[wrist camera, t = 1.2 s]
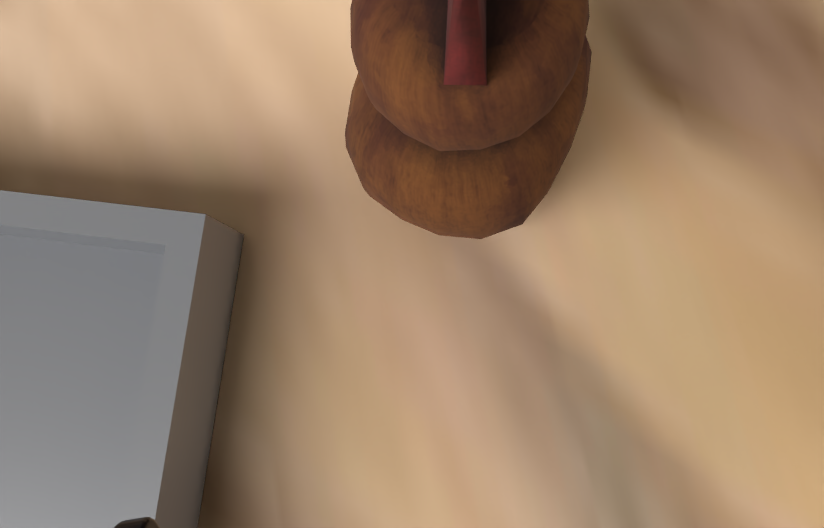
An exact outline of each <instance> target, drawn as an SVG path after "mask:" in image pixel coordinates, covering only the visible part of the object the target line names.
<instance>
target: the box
mask: <svg viewBox="0 0 824 528" xmlns="http://www.w3.org/2000/svg"><path fill="white" fill-rule="evenodd" d="M243 237H244V235H243V234H241V233H239V232H238V231H236V230H234V229H232V228H230V227H228V226H227V225H225V224H223V223H221V222H219V221H217V220H216V219H214V218H212V217H210V216H208V215H206V214H200V213H192V212H183V211H175V210H166V209H157V208H149V207H140V206H132V205H123V204H114V203H106V202H97V201H89V200H80V199H71V198H63V197H54V196H46V195H37V194H28V193H20V192H11V191H3V190H0V528H114V527H115V526H116V525H117V524H118V523H120V522H121V521H124V520H129V519H135V518H142V517H150V518H152V519H154V520H155V521H156V522H157V524H158V525H159V527H160V528H197V527H198V520H199V514H200V508H201V501H202V495H203V489H204V483H205V476H206V470H207V464H208V457H209V451H210V445H211V439H212V432H213V426H214V420H215V413H216V407H217V401H218V395H219V388H220V382H221V376H222V369H223V363H224V357H225V351H226V344H227V338H228V332H229V325H230V319H231V313H232V307H233V300H234V294H235V288H236V281H237V275H238V269H239V263H240V256H241V250H242V244H243Z"/></svg>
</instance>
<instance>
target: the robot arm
mask: <svg viewBox="0 0 824 528" xmlns="http://www.w3.org/2000/svg"><path fill="white" fill-rule="evenodd" d="M114 528H160V527H159V525H158V524H157V522H156V521H155V520H154V519H152V518H150V517H142V518H135V519H129V520H124V521H121V522H120V523H118V524H117V525H116V526H115V527H114Z"/></svg>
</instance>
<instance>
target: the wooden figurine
mask: <svg viewBox="0 0 824 528" xmlns="http://www.w3.org/2000/svg"><path fill="white" fill-rule="evenodd" d="M588 21H589V4H588V0H352V4H351V48H352V53H353V58H354V62H355V65H356V67H357V70H358V75H357V78H356V81H355V84H354V87H353V90H352V94H351V100H350V106H349V112H348V119H347V125H346V131H345V139H346V148H347V151H348V153H349V155H350V158H351V160H352V162H353V165H354V167H355V169H356V172H357V174H358V176H359V179H360V181H361V183H362V186H363V188H364V189H365V190H366V192H367V193H368V194H369V196H370V197H372V198H373V199H374V200H376V201H377V202H379V203H380V204H381V205H383V206H384V207H386V208H387V209H388V210H390V211H391V212H392V213H394V214H395V215H397V216H398V217H399V218H401V219H402V220H404V221H407V222H409V223H412V224H414V225H416V226H419V227H421V228H423V229H426V230H428V231H431V232H433V233H435V234H438V235H443V236H454V237H465V238H476V239H482V238H485V237H488V236H491V235H493V234H496V233H499V232H502V231H505V230H507V229H510V228H513V227H516V226H518V225H521V224H523V222H524V221H525V220H526V219H527V217H528V216H529V215H530V214H531V212H532V211H533V210H534V209H535V208H536V206H537V205H538V204H539V203H540V201H541V200H542V199H543V198H544V196H545V195H546V194H547V193H548V191H549V189H550V187H551V185H552V183H553V181H554V179H555V177H556V175H557V173H558V171H559V169H560V167H561V165H562V163H563V161H564V159H565V157H566V155H567V153H568V152H569V150H570V148H571V145H572V142H573V139H574V136H575V133H576V130H577V128H578V125H579V122H580V119H581V116H582V113H583V110H584V106H585V102H586V97H587V90H588V81H589V71H590V62H591V49H590V46H589V43H588V41H587V38H586V35H585V34H586V30H587V25H588Z"/></svg>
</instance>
